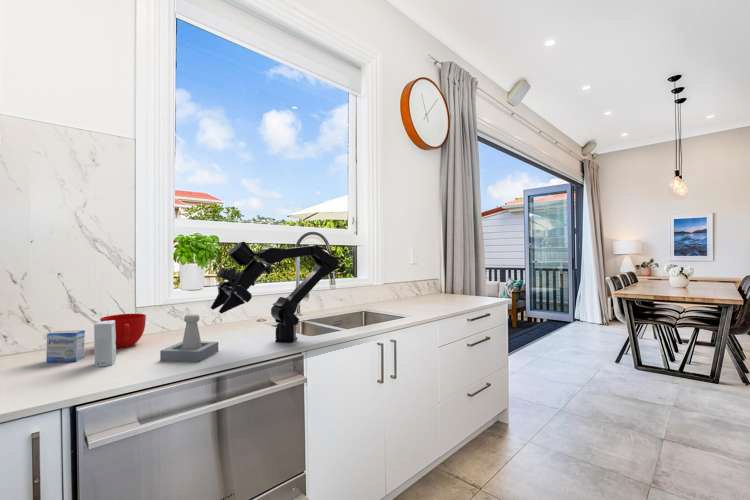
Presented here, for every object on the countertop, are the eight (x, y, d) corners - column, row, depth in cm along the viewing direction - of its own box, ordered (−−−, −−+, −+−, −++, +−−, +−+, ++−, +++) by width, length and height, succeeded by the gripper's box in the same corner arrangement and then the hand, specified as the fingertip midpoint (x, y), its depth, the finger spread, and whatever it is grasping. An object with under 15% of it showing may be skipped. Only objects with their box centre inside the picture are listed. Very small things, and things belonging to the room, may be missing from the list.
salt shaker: (200, 357, 116) (200, 315, 116) (179, 358, 114) (179, 316, 114) (203, 352, 121) (203, 312, 121) (183, 353, 120) (183, 313, 120)
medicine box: (45, 363, 109) (45, 333, 109) (55, 358, 113) (55, 330, 113) (76, 362, 110) (76, 332, 110) (85, 357, 114) (85, 329, 114)
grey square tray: (218, 350, 123) (218, 341, 123) (199, 361, 111) (199, 351, 111) (183, 349, 124) (183, 340, 124) (160, 360, 112) (160, 350, 112)
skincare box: (112, 365, 107) (112, 323, 107) (93, 367, 105) (93, 324, 105) (116, 359, 112) (116, 319, 112) (98, 361, 110) (98, 320, 110)
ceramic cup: (102, 355, 116) (102, 323, 116) (99, 344, 130) (99, 316, 130) (150, 349, 125) (150, 319, 125) (143, 339, 138) (143, 312, 138)
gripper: (223, 258, 133) (189, 291, 126) (241, 260, 118) (204, 297, 111) (245, 279, 137) (214, 312, 131) (265, 283, 123) (231, 321, 116)
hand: (215, 310), depth 122 cm, fingers open, 9 cm apart
